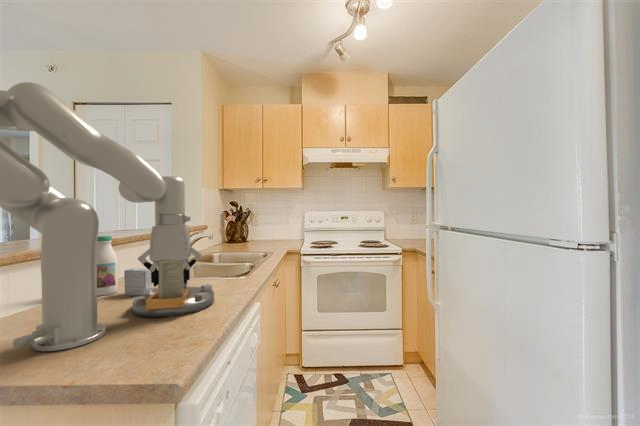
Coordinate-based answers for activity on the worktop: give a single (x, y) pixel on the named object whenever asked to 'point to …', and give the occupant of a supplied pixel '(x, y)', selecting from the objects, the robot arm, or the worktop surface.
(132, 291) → the medicine box
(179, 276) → the skincare box
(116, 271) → the milk bottle
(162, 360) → the worktop surface
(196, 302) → the round grey platter
